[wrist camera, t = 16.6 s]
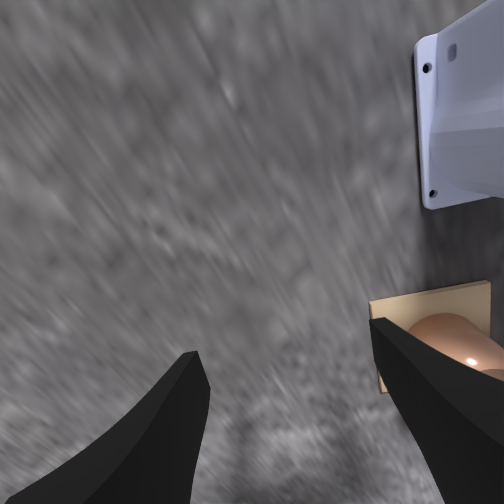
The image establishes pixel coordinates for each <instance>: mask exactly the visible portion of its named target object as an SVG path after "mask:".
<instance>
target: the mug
mask: <svg viewBox="0 0 504 504" xmlns="http://www.w3.org/2000/svg"><path fill="white" fill-rule="evenodd" d="M407 332H408V333H410V334H411V335H413V336H414V337H416V338H418V339H419V340H421V341H422V342H424V343H426V344H427V345H429V346H431V347H433V348H434V349H436V350H438V351H440V352H441V353H443V354H445V355H447V356H449V357H451V358H453V359H455V360H457V361H459V362H461V363H463V364H465V365H467V366H469V367H471V368H474V369H476V370H478V371H480V372H482V373H485V374H487V375H489V376H492V377H494V378H497V379H499V380H502V381H504V349H503V348H502V347H501V346H499V345H498V344H497V343H496V342H495V341H493V340H492V339H491V338H490V337H489V336H487V335H486V334H485V333H484V332H483V331H482V330H480V329H479V328H478V327H477V326H476V325H474V324H473V323H472V322H471V321H470V320H468V319H467V318H465V317H463V316H460V315H457V314H452V313H440V314H435V315H431V316H428V317H426V318H424V319H422V320H420V321H418V322H417V323H415V324H414V325H413V326H412V327H411V328H410V329H409V330H408V331H407Z"/></svg>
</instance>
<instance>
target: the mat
mask: <svg viewBox="0 0 504 504" xmlns="http://www.w3.org/2000/svg"><path fill="white" fill-rule="evenodd" d="M490 303H491V283H490V282H488V281H487V280H482V281H477V282H471V283H466V284H461V285H455V286H450V287H445V288H439V289H434V290H429V291H423V292H418V293H413V294H407V295H402V296H397V297H391V298H386V299H381V300H375V301H370V302H369V306H370V313H371V319H375V318H381V317H386V318H387V319H389V320H390V321H392V322H393V323H395V324H396V325H398V326H399V327H401V328H402V329H404V330H405V331H408V330H409V329H410V328H411V327H412V326H413V325H414V324H415V323H417V322H418V321H420V320H422V319H424V318H426V317H428V316H431V315H435V314H440V313H452V314H457V315H460V316H463V317H465V318H467V319H468V320H470V321H471V322H472V323H473V324H474V325H476V326H477V327H478V328H479V329H480V330H482V331H483V332H484V333H485V334H486V335H487V336H489V337H490ZM378 375H379V383H380V388H381V391H382V392H388V391H387V389H386V387H385V385H384V383H383V381H382V378H381V376H380V374H379V371H378Z"/></svg>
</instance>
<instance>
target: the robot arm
mask: <svg viewBox="0 0 504 504" xmlns="http://www.w3.org/2000/svg"><path fill="white" fill-rule="evenodd" d="M424 64H426V65H427V66H428V68H429V70H428V72H427V73H424V72H423V70H422V68H423V66H424ZM414 65H415V82H416V99H417V116H418V133H419V150H420V167H421V184H422V201H423V206H424V207H425V208H428V209H430V210H433V209H438V208H443V207H447V206H452V205H457V204H461V203H466V202H471V201H475V200H480V199H484V198H489V197H499V198H504V0H488V1H486V2H485V3H483V4H482V5H480V6H479V7H477V8H476V9H474V10H473V11H471V12H470V13H468V14H467V15H465V16H463V17H462V18H460V19H459V20H457V21H456V22H454V23H453V24H451V25H450V26H448V27H447V28H445V29H444V30H442V31H441V32H439V33H438V34H434V35H430V36H427V37H424V38H422V39H421V40H419V41H418V42H417V43H416V45H415V47H414ZM431 190H434V195H433V196H432V197H429V193H430V191H431ZM369 324H370V332H371V339H372V347H373V354H374V362H375V364H376V366H377V369H378V371H379V374H380V376H381V378H382V381H383V383H384V385H385V387H386V389H387V391H388V392H389V394H390V396H391V398H392V400H393V401H394V403H395V405H396V407H397V408H398V410H399V412H400V414H401V415H402V417H403V419H404V421H405V422H406V424H407V426H408V428H409V429H410V431H411V433H412V435H413V436H414V438H415V440H416V442H417V444H418V446H419V448H420V450H421V452H422V454H423V456H424V458H425V460H426V462H427V465H428V467H429V469H430V471H431V473H432V475H433V478H434V480H435V482H436V484H437V487H438V489H439V491H440V493H441V496H442V498H443V500H444V502H445V504H504V381H502V380H499V379H497V378H494V377H492V376H489V375H487V374H485V373H482V372H480V371H478V370H476V369H474V368H471V367H469V366H467V365H465V364H463V363H461V362H459V361H457V360H455V359H453V358H451V357H449V356H447V355H445V354H443V353H441V352H440V351H438V350H436V349H434V348H433V347H431V346H429V345H427V344H426V343H424V342H422V341H421V340H419V339H418V338H416V337H414V336H413V335H411V334H410V333H408V332H407V331H405V330H404V329H402V328H401V327H399V326H398V325H396V324H395V323H393V322H392V321H390V320H389V319H387V318H386V317H381V318H375V319H370V320H369ZM210 389H211V388H210V385H209V383H208V380H207V377H206V374H205V371H204V368H203V366H202V363H201V360H200V357H199V354H198V352H197V351H192V352H187V353H183V354H182V355H181V356H180V357H179V358H178V359H177V361H176V362H175V363H174V364H173V365H172V366H171V367H170V369H169V370H168V371H167V372H166V373H165V374H164V375H163V376H162V378H161V379H160V380H159V381H158V382H157V383H156V384H155V385H154V387H153V388H152V389H151V390H150V391H149V392H148V393H147V394H146V395H145V396H144V397H143V398H142V399H141V400H140V401H139V402H138V403H137V404H136V405H135V406H134V407H133V408H132V409H131V410H130V411H129V412H128V413H127V414H126V415H125V416H124V417H123V418H122V419H120V420H119V421H118V422H117V423H116V424H115V425H114V426H113V427H111V428H110V429H109V430H108V431H107V432H105V433H104V434H103V435H102V436H100V437H99V438H98V439H96V440H95V441H94V442H93V443H91V444H90V445H89V446H88V447H86V448H85V449H84V450H82V451H81V452H80V453H78V454H77V455H75V456H74V457H73V458H71V459H70V460H68V461H67V462H66V463H64V464H63V465H61V466H60V467H58V468H57V469H55V470H54V471H52V472H51V473H49V474H48V475H46V476H44V477H43V478H41V479H39V480H38V481H36V482H35V483H33V484H31V485H30V486H28V487H26V488H25V489H23V490H21V491H20V492H18V493H16V494H15V495H13V496H11V497H9V498H8V500H7V501H6V503H5V504H190V499H191V491H192V484H193V478H194V473H195V468H196V464H197V459H198V455H199V451H200V446H201V442H202V438H203V433H204V429H205V425H206V420H207V415H208V409H209V400H210Z"/></svg>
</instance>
